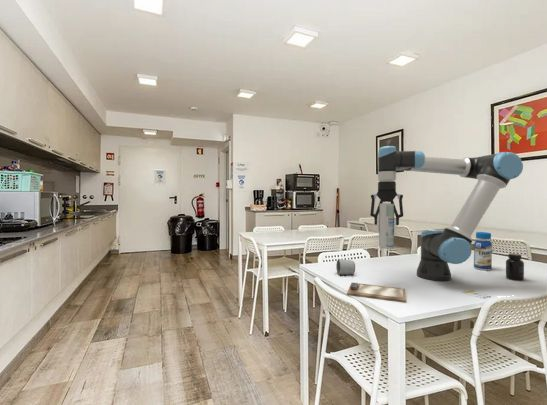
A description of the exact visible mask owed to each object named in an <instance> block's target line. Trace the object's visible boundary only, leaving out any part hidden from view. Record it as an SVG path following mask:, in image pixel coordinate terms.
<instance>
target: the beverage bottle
mask: <svg viewBox="0 0 547 405" xmlns="http://www.w3.org/2000/svg"><path fill="white" fill-rule="evenodd" d="M475 238H476V240H474V244H473V245H474V247H473V268H474V269H475V270H478V271H479V270H480V271H492V269H493V268H492V264H493V262H492V261H493V260H492V259H493V253H494V252H493V243H492V241H491V239H492V233H491V232H486V231H485V232H484V231H476V233H475Z"/></svg>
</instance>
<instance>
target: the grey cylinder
mask: <svg viewBox="0 0 547 405" xmlns="http://www.w3.org/2000/svg"><path fill="white" fill-rule="evenodd" d="M355 272H356V263H355V261H354V260H351V259H342V258H341V259H340V258H339V259H337V261H336V274H337V275H345V276H346V275H347V276H348V275H354V274H355Z"/></svg>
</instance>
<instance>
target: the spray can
mask: <svg viewBox="0 0 547 405" xmlns="http://www.w3.org/2000/svg"><path fill="white" fill-rule="evenodd" d="M394 204H395V203H394ZM394 204H391V202H383V203H382V204H379V203H378V205H379V214H378V218H379V232H378V246H379V249H385V250H391V249H395V248H394V247H395V233H394V218H395V213H394Z"/></svg>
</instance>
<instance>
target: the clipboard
mask: <svg viewBox="0 0 547 405" xmlns="http://www.w3.org/2000/svg"><path fill="white" fill-rule="evenodd" d="M346 296H352V297H361V298H367V299H369V298H370V299H376V300H383V301H384V300H385V301H392V302H399V303H407V295H406V288H402V287H392V286H386V285H376V284H366V283H359V282H351V283H350V286H349V287H348V290H347V292H346Z"/></svg>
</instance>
